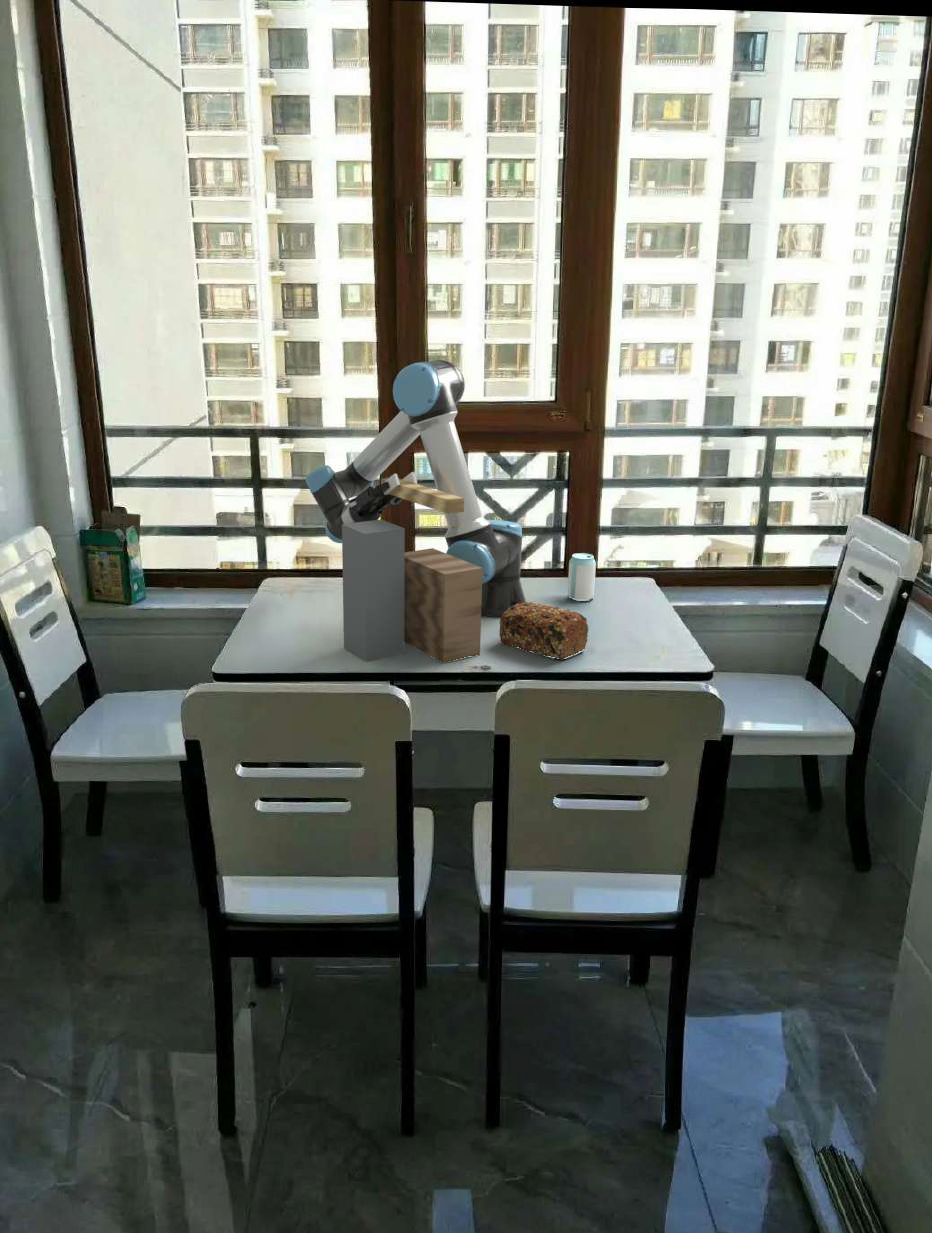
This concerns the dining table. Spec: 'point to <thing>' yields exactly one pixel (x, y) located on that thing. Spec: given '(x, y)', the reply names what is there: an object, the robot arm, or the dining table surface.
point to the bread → (544, 629)
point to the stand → (373, 588)
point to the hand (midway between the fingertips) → (405, 478)
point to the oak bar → (428, 497)
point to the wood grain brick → (442, 605)
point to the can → (581, 576)
